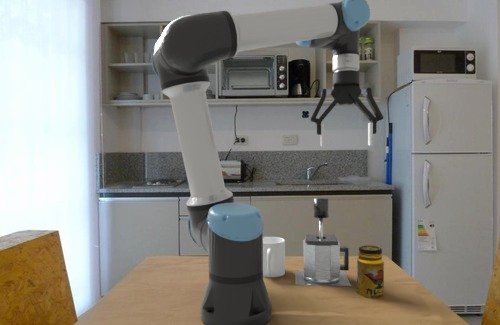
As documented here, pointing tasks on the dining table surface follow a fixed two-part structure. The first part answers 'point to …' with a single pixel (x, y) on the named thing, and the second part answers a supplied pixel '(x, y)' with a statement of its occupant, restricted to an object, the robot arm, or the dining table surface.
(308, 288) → the dining table surface
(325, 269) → the carafe
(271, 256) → the cup
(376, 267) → the condiment
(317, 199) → the plunger
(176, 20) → the robot arm
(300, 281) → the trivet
